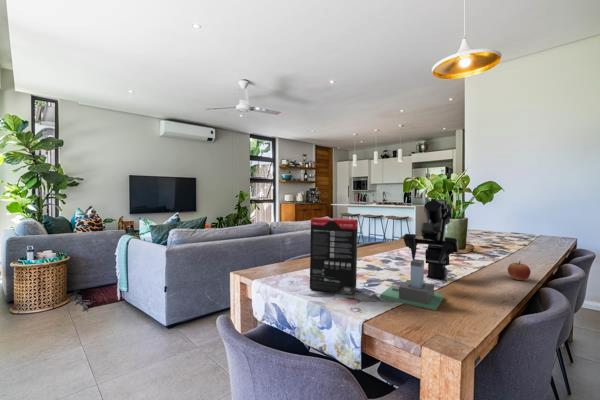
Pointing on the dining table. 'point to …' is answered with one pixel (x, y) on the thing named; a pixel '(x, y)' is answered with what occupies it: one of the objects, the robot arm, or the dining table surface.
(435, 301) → the header board
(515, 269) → the apple
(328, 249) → the graphics card box
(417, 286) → the light blue tall block
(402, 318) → the dining table surface
